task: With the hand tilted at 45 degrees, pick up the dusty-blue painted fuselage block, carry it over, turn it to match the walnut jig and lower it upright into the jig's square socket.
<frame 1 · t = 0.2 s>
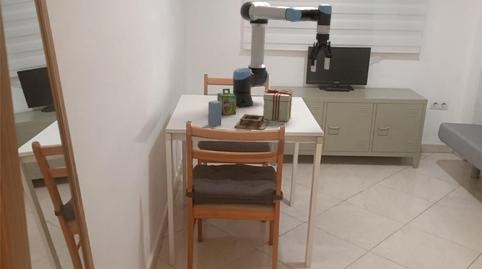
hand: (319, 70, 257), 28 cm above the table, fingers open, 13 cm apart
cradle: (251, 125, 243), on the table
chalk box: (226, 113, 267), on the table
gift box: (276, 117, 262), on the table
fuselage block: (214, 124, 242), on the table
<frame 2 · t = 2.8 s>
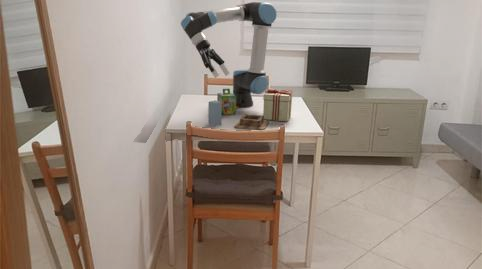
hand: (222, 75, 236), 27 cm above the table, fingers open, 13 cm apart
nothing on the table moved.
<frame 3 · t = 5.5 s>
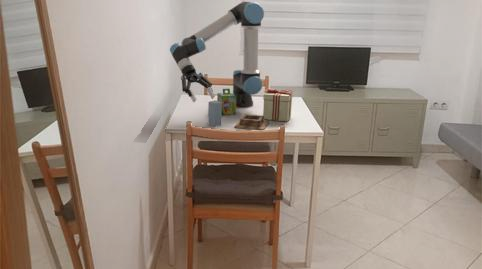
hand: (204, 99, 242), 13 cm above the table, fingers open, 13 cm apart
nothing on the table moved.
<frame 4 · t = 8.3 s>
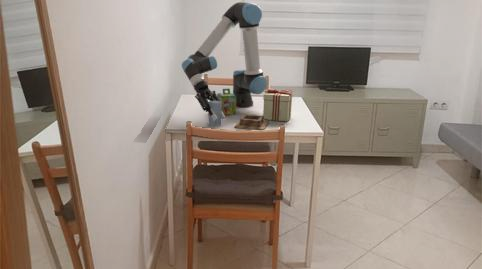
hand: (219, 118, 238), 4 cm above the table, fingers closed on fuselage block, 5 cm apart
fuselage block: (214, 124, 242), on the table, touching gripper
everything else where it was.
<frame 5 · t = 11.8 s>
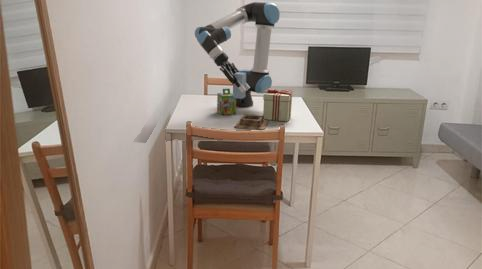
hand: (246, 90, 235), 20 cm above the table, fingers closed on fuselage block, 5 cm apart
fuselage block: (239, 97, 237), point 16 cm above the table, touching gripper
everything else where it was.
when the fingers open (7 cm above the table, at t = 15.2 s): fuselage block drops 2 cm, resting on cradle.
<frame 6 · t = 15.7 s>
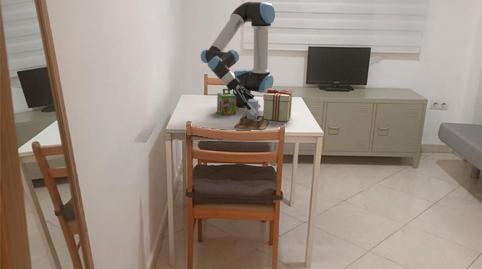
hand: (257, 110, 240), 8 cm above the table, fingers open, 12 cm apart
fuselage block: (252, 123, 243), point 1 cm above the table, touching cradle
everything else where it was.
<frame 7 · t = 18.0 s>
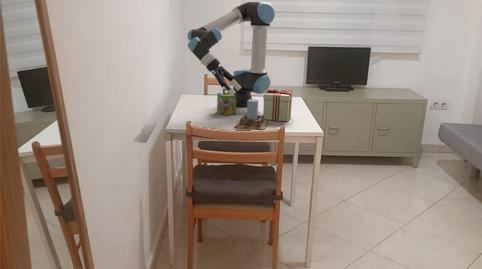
hand: (236, 91, 240), 18 cm above the table, fingers open, 13 cm apart
nothing on the table moved.
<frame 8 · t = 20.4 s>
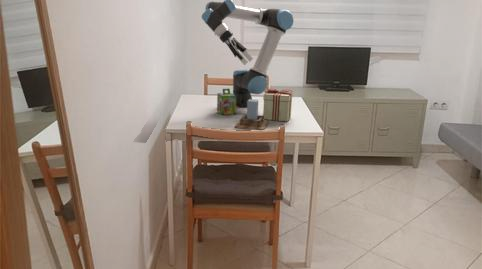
hand: (249, 61, 248), 33 cm above the table, fingers open, 13 cm apart
nothing on the table moved.
at the end: fuselage block 0.0 cm off-centre on the cradle, point 1.0 cm above the cradle's base; fuselage block tilted 0°; the gripper is holding nothing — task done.
